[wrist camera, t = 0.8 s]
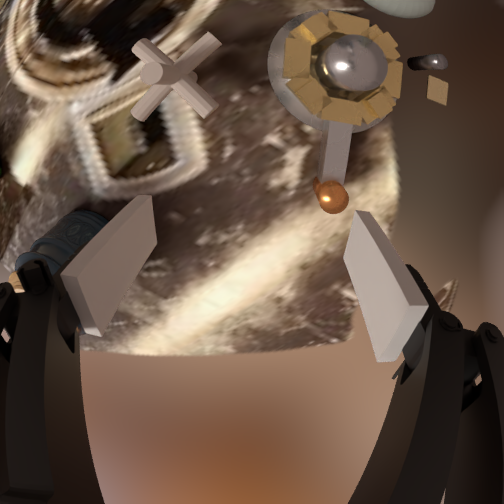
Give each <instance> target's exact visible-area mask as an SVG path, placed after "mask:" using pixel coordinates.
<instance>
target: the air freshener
mask: <svg viewBox="0 0 504 504" xmlns="http://www.w3.org/2000/svg"><path fill="white" fill-rule="evenodd" d="M364 1H365V2H366V3H368V4H369V5H371V6H372V7H374V8H376V9H378V10H379V11H382V12H384V13H386V14H389V15H392V16H395V17H401V18H420V17H422V16H425V15H427V14H428V13H430V12H431V11H432V10H433V7H434V4H435V0H364Z"/></svg>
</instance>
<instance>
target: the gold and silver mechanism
mask: <svg viewBox="0 0 504 504" xmlns="http://www.w3.org/2000/svg"><path fill="white" fill-rule="evenodd" d="M328 11H334V12H339V13H343V14H348V15H352V14H349V13H346V12H342V11H337V10H315V11H310V12H306V13H304V14H301V15H298V16H297V17H295V18H293V19H291V20H290V21H289V22H287V23H286V24H285V25H284V26H283V27H282V28H281V29H280V30H279V31H278V33H277V34H276V36H275V37H274V39H273V41H272V43H271V46H270V49H269V54H268V74H269V79H270V82H271V86H272V88H273V90H274V92H275V94H276V96H277V97H278V99H279V101H280V102H281V103H282V104H283V106H284V107H285V108H286V109H287V110H288V111H289V112H290V113H291V114H292V115H294V116H295V117H296V118H297V119H299V120H300V121H302V122H304V123H305V124H307V125H309V126H311V127H313V128H315V129H318V130H321V131H323V122H324V119H320V118H318V117H316V114H315V115H312V114H310V113H309V112H308V111H307V109H306V108H305V107H304V106H303V105H302V104H301V102H300V101H299V100H298V99H297V98H296V97H295V96H294V95H293V93H292V92H291V91H290V90H289V89H288V88H287V87H286V86H285V84H286V83H287V82H288V81H290V80H291V79H284V78H282V73H283V58H284V43H285V40H286V38H288V35H289V32H290V31H292V30H293V29H295V28H296V27H298V26H299V25H301V23H302V22H304V21H305V20H307V19H309V18H310V17H312V16H313V15H315V14H316V15H317V14H318V13H320V12H323V13H324V14H325V15H326V14H327V12H328ZM352 16H355V15H352ZM356 17H357V16H356ZM370 27H372V25H371V24H369V28H370ZM396 61H398V60H397V59H396ZM407 63H408V66H409V68H410V69H412V70H414V71H416V70H434V69H435V70H436V69H446V68H447V67H448V61H447V59H446V58H445V57H444V56H443V55H442V54H432V55H425V56H418V57H412V58H409V59H408V61H407ZM387 72H388V63H387V59H386V56H385V54H384V52H383V51H382V49H381V48H380V47H379V46H378V45H377V44H376V43H375V42H374V41H372V40H371V39H369V38H367V37H364V36H361V35H355V34H352V35H346V36H343V37H341V38H339V39H335V38H329V37H327V38H326V39H324V40H323V41H321V42H320V43H318V44H317V45H315V46H314V47H312V48H311V57H310V71H309V74H310V75H311V76H312V77H313V78H315V79H316V80H317V81H318V82H319V83H320V85H321V86H322V87H323V88H324V89H325V91H326V92H327V93H326V94H327V95H328V96H329V97H333V98H338V99H344V100H349V101H351V100H353V99H354V98H356V97H357V96H358V95H360V94H361V93H363V92H364V91H366V90H372V89H374V88H376V87H378V86H379V85H381V84H382V83H383V81H384V80H385V78H386V76H387ZM447 93H448V83H447V82H445V81H442V80H440V79H438V78H435V77H433V76H431V75H428V82H427V92H426V98H427V99H430V100H433V101H435V102H438V103H440V104H443V105H446V102H447ZM393 99H394V101H395V102H396V100H397V98H393ZM393 107H394V106H393ZM393 107H392V108H393ZM388 114H389V113H388ZM388 114H387V115H388ZM387 115H385V116H384V117H382V118H381V119H379V118H376V119H375V120H373V121H372V122H371V123H369V124H368V125H367V124H365V123H362V122H361V126H358V125H353V127H352V133H356V132H360V131H364V130H366V129H369V128H371V127H373V126H374V125H376V124H378V123H379V122H380V121H382V120H383V119H384V118H385V117H386V116H387Z"/></svg>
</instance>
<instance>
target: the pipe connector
mask: <svg viewBox="0 0 504 504" xmlns="http://www.w3.org/2000/svg"><path fill="white" fill-rule="evenodd" d="M221 45H222V43H221V42H220V41H218V40H217V39H216V38H215V37H214V36H213V35H212V34H210V33H209V32H207V33H206V34H205V35H204V36H203V37H201V38H200V39H199V40H198V41H197V42H196V43H195V44H193V45H192V46H191V47H190V48H189V49H188V50H187V51H186V52H185V53H184V54H183V55H182V56H180V57H179V58H178V59H177V60H176V61H175V62H173V61H172V60H171V59H170V58H169V57H168V56H167V55H165V54H164V53H163V52H162V51H161V50H160V49H159V48H157V47H156V46H155V45H154V44H153V43H151V42H150V41H149V40H148V39H147V38H143V39H141V40H139V41H138V42H137V43H136V44H135V45H134V47H133V48H132V52H133V53H134V54H135V55H137V56H138V57H139V58H140V59H141V60H142V61H143V62H144V63H146V64H145V65H144V66H143V68H142V69H141V72H140V78H141V80H142V82H143V83H145V84H148V85H152V86H151V87H150V88H149V90H148V91H147V92H146V93H145V94H144V95H143V96H142V98H141V99H140V100H139V101H138V102H137V103H136V105H135V106H134V107H133V108H132V110H131V114H132V115H133V116H134V117H135V118H136V119H138V120H140V121H145V120H146V119H147V117H148V116H149V115H150V114H151V113H152V112H153V111H154V109H155V108H156V107H157V106H158V105H159V104H160V103H161V102H162V101H163V100H164V99H165V97H166V96H167V95H168V94H169V93H170V92H171V91H172V90H173V89H174V90H175V91H176V92H177V93H178V94H179V95H180V96H181V97H182V98H183V99H184V100H185V101H186V102H187V103H188V104H189V105H190V106H192V107H193V108H194V109H195V110H196V111H197V112H198V113H199V114H200V115H201V116H202V117H203V118H206V117H207V116H209V115H210V114H211V113H212V112H213V111H214V110H215V109H216V108H217V107H218V106H219V104H218V103H217V102H216V101H215V100H214V99H213V98H212V97H211V96H210V95H209V94H208V93H206V92H205V91H204V90H203V89H202V88H201V87H200V86H199V85H198V84H197V83H196V82H197V79H198V77H197V74H196V73H195V72H194V71H193V70H194V69H195V68H196V67H197V66H198V65H199V64H200V63H201V62H202V61H203V60H205V59H206V58H207V57H208V56H209V55H210V54H211V53H213V52H214V51H215V50H216V49H217V48H218V47H220V46H221Z"/></svg>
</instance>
